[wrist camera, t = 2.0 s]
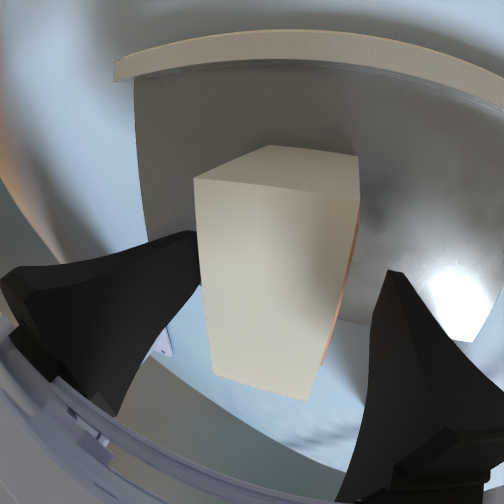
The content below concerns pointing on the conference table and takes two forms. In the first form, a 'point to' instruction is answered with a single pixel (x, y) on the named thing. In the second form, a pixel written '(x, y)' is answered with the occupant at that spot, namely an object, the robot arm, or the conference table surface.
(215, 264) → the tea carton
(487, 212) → the shelf board
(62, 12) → the conference table surface
